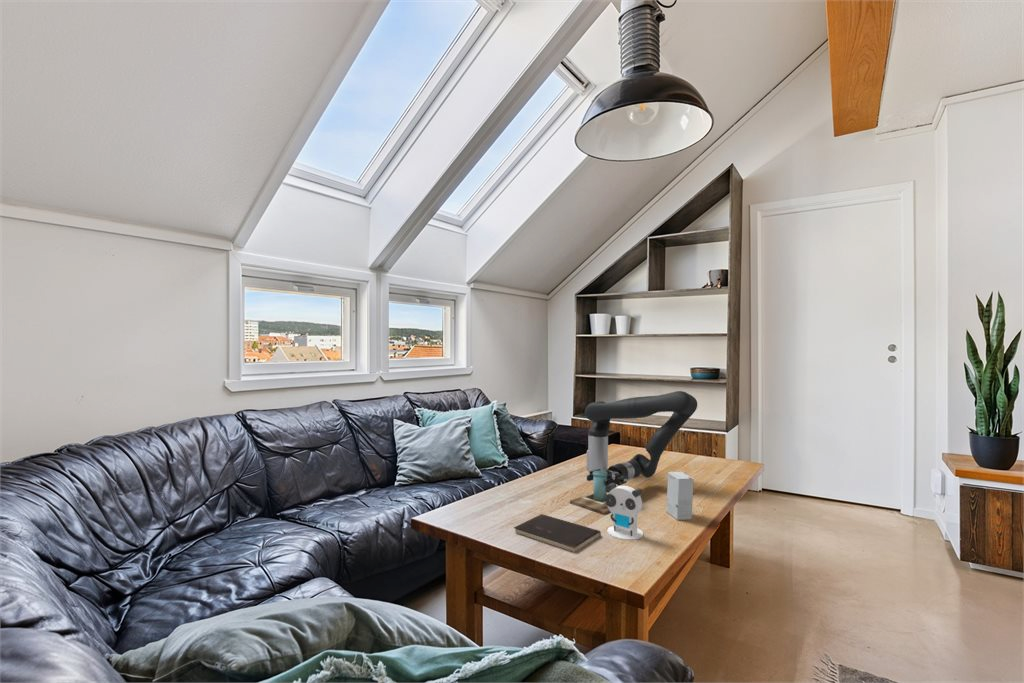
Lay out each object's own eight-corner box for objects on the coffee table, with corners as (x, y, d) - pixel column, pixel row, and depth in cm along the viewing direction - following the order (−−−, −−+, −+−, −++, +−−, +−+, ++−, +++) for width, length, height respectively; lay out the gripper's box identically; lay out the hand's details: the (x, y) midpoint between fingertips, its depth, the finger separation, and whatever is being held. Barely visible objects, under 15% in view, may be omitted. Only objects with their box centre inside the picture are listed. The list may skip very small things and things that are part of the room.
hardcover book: (574, 554, 140) (574, 546, 140) (513, 534, 155) (513, 527, 155) (600, 537, 153) (600, 530, 152) (542, 519, 167) (542, 513, 167)
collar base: (569, 503, 183) (569, 497, 183) (595, 494, 193) (595, 488, 193) (603, 514, 171) (603, 507, 171) (629, 504, 182) (629, 497, 182)
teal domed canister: (589, 500, 182) (590, 472, 182) (598, 497, 186) (598, 469, 186) (601, 504, 178) (601, 475, 178) (609, 501, 182) (610, 472, 182)
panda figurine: (599, 532, 155) (599, 486, 155) (616, 522, 163) (616, 479, 163) (632, 543, 147) (633, 494, 147) (649, 532, 155) (649, 486, 155)
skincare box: (666, 512, 173) (666, 471, 173) (681, 511, 174) (681, 470, 174) (677, 520, 165) (677, 478, 165) (693, 519, 166) (693, 477, 166)
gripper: (606, 460, 197) (581, 467, 186) (636, 466, 186) (612, 474, 175) (606, 478, 197) (581, 486, 186) (636, 486, 186) (611, 495, 176)
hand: (596, 480), depth 181 cm, fingers open, 8 cm apart
